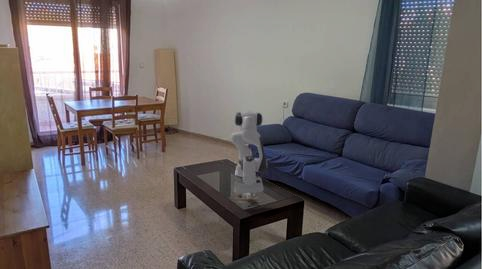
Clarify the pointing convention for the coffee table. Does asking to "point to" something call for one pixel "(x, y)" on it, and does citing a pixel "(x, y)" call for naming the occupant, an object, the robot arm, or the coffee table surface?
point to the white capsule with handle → (247, 196)
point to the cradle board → (240, 200)
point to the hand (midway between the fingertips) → (248, 198)
